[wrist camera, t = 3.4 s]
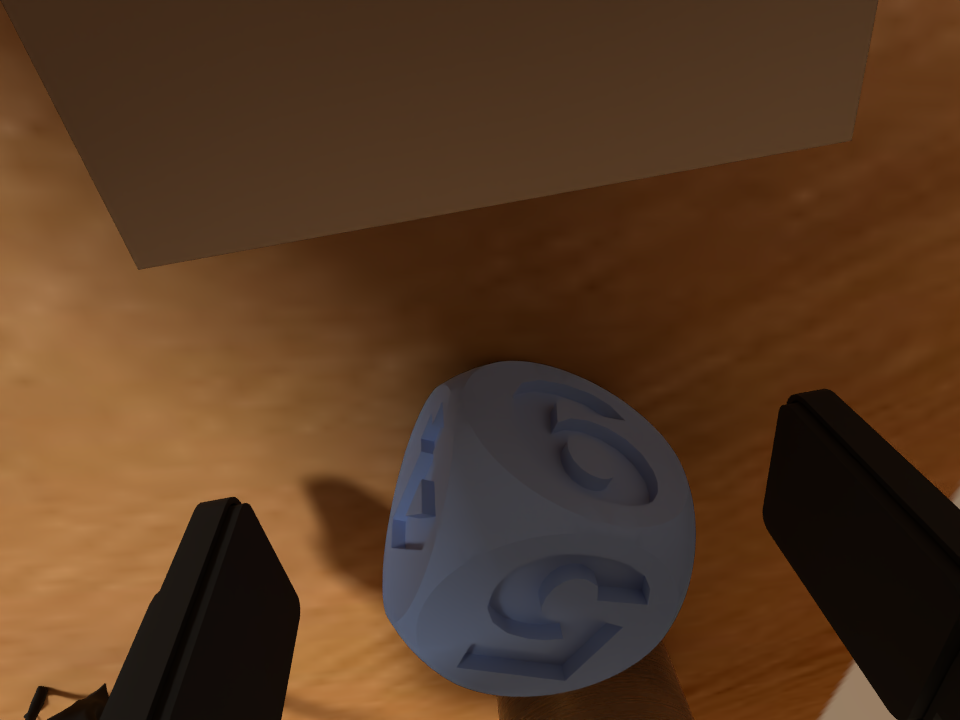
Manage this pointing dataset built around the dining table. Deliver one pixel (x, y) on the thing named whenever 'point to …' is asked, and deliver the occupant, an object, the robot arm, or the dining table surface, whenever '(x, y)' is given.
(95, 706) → the creature
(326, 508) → the dining table surface
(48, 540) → the dining table surface
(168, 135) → the walnut block
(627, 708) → the dark metal cylinder
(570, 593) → the decorative dice
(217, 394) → the dining table surface
